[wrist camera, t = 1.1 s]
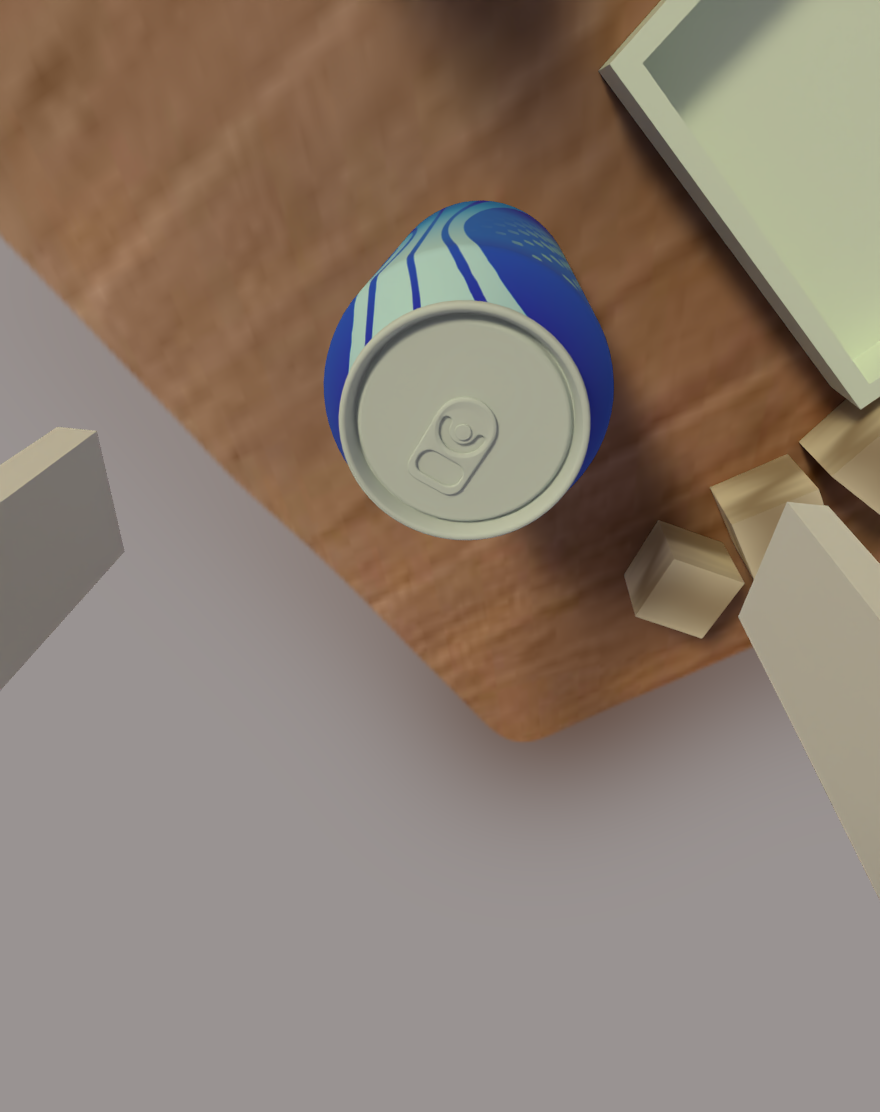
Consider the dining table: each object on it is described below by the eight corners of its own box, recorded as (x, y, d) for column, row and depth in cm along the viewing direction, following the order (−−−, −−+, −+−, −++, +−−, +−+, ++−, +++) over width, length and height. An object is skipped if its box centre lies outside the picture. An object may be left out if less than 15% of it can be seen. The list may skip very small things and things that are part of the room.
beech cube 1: (867, 378, 31) (911, 407, 28) (920, 424, 32) (970, 458, 29) (798, 441, 33) (831, 476, 30) (850, 483, 34) (888, 521, 31)
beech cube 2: (786, 453, 33) (818, 489, 30) (807, 513, 35) (839, 553, 32) (709, 486, 35) (731, 524, 31) (732, 542, 36) (756, 584, 33)
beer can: (359, 242, 29) (243, 335, 16) (540, 164, 27) (581, 197, 14) (428, 410, 33) (381, 597, 20) (589, 354, 31) (657, 522, 18)
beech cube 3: (658, 519, 36) (674, 558, 33) (722, 541, 36) (744, 583, 33) (623, 573, 38) (635, 616, 35) (684, 594, 39) (701, 638, 35)
